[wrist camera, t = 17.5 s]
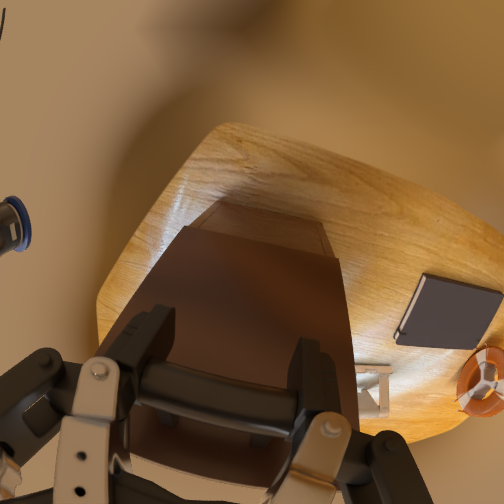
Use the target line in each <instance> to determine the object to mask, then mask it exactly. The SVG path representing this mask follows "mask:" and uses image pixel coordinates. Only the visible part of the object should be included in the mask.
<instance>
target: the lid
mask: <svg viewBox="0 0 504 504" xmlns="http://www.w3.org/2000/svg"><path fill="white" fill-rule="evenodd" d="M156 303H161V304H165V305H168V306H172V307H175V309H176V318H175V340H174V344H173V347H172V349H171V351H170V353H169V355H168V357H167V359H166V360H163V359H159V358H156V357H152V358H151V359H150V360H149V361H148V362H147V364H146V366H145V368H144V370H143V372H142V375H141V378H140V382H139V388H138V398H139V401H140V403H142V404H143V406H140V405H137V404H133V406H132V408H131V410H130V455H131V456H134V457H136V458H139V459H141V460H144V461H147V462H150V463H152V464H155V465H158V466H161V467H164V468H167V469H170V470H173V471H176V472H180V473H184V474H187V475H191V476H194V477H198V478H202V479H206V480H210V481H215V482H220V483H225V484H230V485H235V486H241V487H248V488H255V489H262V490H268V489H269V487H270V485H271V484H272V482H273V480H274V479H275V477H276V475H277V474H278V472H279V470H280V469H281V467H282V465H283V463H284V462H285V460H286V458H287V456H288V454H289V453H290V452H291V449H292V442H285V441H284V438H287V437H288V436H289V435H290V433H291V431H292V428H293V425H294V422H295V418H296V413H297V405H298V396H297V392H296V391H295V390H292V389H287V374H288V368H289V364H290V361H291V359H292V356H293V354H294V351H295V348H296V346H297V343H298V340H299V338H300V337H301V336H303V337H308V338H314V339H319V341H320V350H321V352H322V353H329V355H330V356H331V358H332V359H333V361H334V362H335V367H336V375H337V380H338V382H337V383H338V388H339V395H340V403H341V412H342V416H344V417H345V418H346V419H347V420H348V421H349V423H350V425H351V428H353V429H354V430H356V431H359V432H360V426H359V408H358V394H357V382H356V372H355V362H354V353H353V345H352V337H351V329H350V322H349V315H348V309H347V302H346V296H345V290H344V284H343V279H342V273H341V268H340V263H339V259H338V258H334V257H329V256H325V255H320V254H316V253H311V252H307V251H302V250H298V249H293V248H289V247H284V246H279V245H275V244H270V243H266V242H261V241H256V240H252V239H247V238H242V237H237V236H233V235H228V234H223V233H218V232H214V231H209V230H204V229H199V228H194V227H190V226H184V227H183V228H182V229H181V231H180V232H179V233H178V234H177V236H176V237H175V238H174V240H173V241H172V242H171V244H170V245H169V246H168V248H167V249H166V250H165V252H164V253H163V254H162V256H161V257H160V258H159V260H158V261H157V262H156V264H155V265H154V267H153V268H152V269H151V271H150V272H149V274H148V275H147V276H146V278H145V279H144V281H143V282H142V283H141V285H140V286H139V288H138V289H137V291H136V292H135V293H134V295H133V296H132V298H131V299H130V301H129V302H128V304H127V305H126V307H125V308H124V310H123V311H122V313H121V314H120V316H119V317H118V319H117V320H116V322H115V323H114V325H113V326H112V328H111V329H110V331H109V333H108V334H107V336H106V337H105V339H104V340H103V342H102V344H101V345H100V347H99V348H98V350H97V352H96V353H95V355H94V357H99V356H101V357H102V356H103V355H104V354H105V352H106V351H107V350H108V348H109V347H110V346H111V344H112V343H113V342H114V340H115V339H116V338H117V336H118V335H119V334H120V333H122V330H123V329H124V327H125V326H127V324H128V322H129V321H130V320H131V319H132V317H133V316H135V315H137V314H138V313H140V312H142V311H145V312H148V313H150V311H151V310H152V309H153V307H154V306H155V305H156ZM335 484H337V491H336V493H342V492H341V489H340V485H339V482H338V481H336V480H335Z"/></svg>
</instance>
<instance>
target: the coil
mask: <svg viewBox="0 0 504 504" xmlns="http://www.w3.org/2000/svg"><path fill="white" fill-rule="evenodd" d="M484 344H485V345H486V349H483V350H481V351H480V350H478V349H476V348H475V349H476V350H478V351H479V352H478V353H476V354H474V355H473V356H472V357H471V358H470V359H469V361H467V363H466V364H465V365H466V366H464V367H465V368H464V367H463V369H462V370H463V371H461V372H462V373H460V374H461V375H460V377H459V378H460V379H458V384H457V390H456V391H457V392H456V393H457V394H456V395H457V397H458V399H456V400H455V401H457V400H459V404H460V406H461V407H462V409H463V411H460V410H456V411H459V412H464V413H466V414H468V415H470V416H475V417H490V416H493V415H496V414H497V413H499V412H500V411H501V410H503V409H504V350H503V349H501V348H499V347H494V346H492V347H491V346H490V347H489V348H487V344H486V343H484ZM495 366H496V367H495ZM495 368H497V370H498V380H499V382H495V381H494V372H495V371H496V369H495ZM491 388H493V389H495V391H493V392H492V393H491V394H490V395H489V396H488V397H487V398H485V399H483V398H484V397H485V394H486V393H487V392H488V391H489V390H490V389H491ZM482 399H483V400H482ZM455 401H452V402H455Z"/></svg>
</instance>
